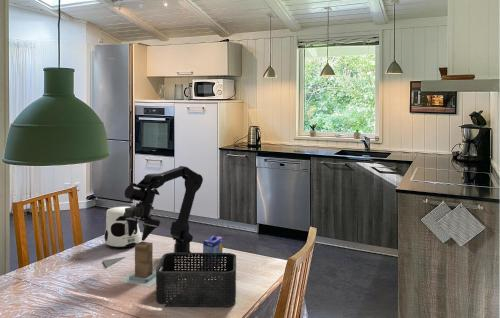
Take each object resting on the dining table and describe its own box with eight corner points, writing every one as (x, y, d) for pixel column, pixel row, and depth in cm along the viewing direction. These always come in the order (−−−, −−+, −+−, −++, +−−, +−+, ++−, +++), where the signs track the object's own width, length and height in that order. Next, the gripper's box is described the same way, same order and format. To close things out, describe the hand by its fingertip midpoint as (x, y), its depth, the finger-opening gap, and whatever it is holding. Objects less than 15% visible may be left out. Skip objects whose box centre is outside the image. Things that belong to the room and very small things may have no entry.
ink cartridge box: (213, 270, 178) (213, 237, 176) (201, 267, 180) (202, 235, 178) (222, 262, 187) (223, 231, 185) (212, 260, 189) (212, 230, 187)
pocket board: (138, 270, 175) (138, 266, 174) (167, 275, 170) (167, 270, 170) (118, 283, 161) (118, 278, 161) (149, 288, 157) (149, 283, 157)
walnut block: (141, 274, 169) (141, 241, 167) (152, 275, 167) (152, 242, 166) (135, 278, 164) (134, 245, 163) (145, 280, 163) (145, 246, 161)
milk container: (113, 238, 217) (113, 205, 214) (145, 240, 215) (145, 206, 213) (98, 249, 199) (97, 213, 197) (132, 251, 198) (132, 215, 196)
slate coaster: (125, 258, 189) (125, 256, 189) (130, 265, 180) (130, 264, 180) (102, 261, 184) (102, 260, 184) (107, 269, 175) (107, 267, 175)
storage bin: (153, 307, 143) (153, 270, 142) (164, 284, 162) (164, 251, 161) (235, 308, 144) (236, 271, 142) (236, 285, 163) (236, 252, 162)
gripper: (118, 196, 177) (107, 231, 175) (144, 202, 166) (134, 241, 163) (138, 200, 186) (128, 234, 184) (165, 207, 174) (155, 243, 172)
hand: (136, 238), depth 175 cm, fingers open, 9 cm apart
